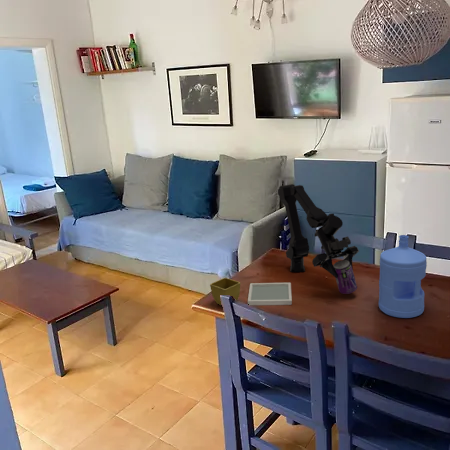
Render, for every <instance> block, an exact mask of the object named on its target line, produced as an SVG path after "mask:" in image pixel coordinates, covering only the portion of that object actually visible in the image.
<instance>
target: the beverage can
mask: <svg viewBox="0 0 450 450" xmlns="http://www.w3.org/2000/svg"><path fill="white" fill-rule="evenodd" d="M333 266H334V268H335V270H336V272H337V275H338V278H335V281H336V285H337V288H338V289H337V290H338V292H339V293H341V294H344V295H349V294H352V293H354V292H355V291H357V289H358V284H357V281H356V277H355V273H354V268H353V269H352V266H353V265H352V266H351V265H350V263H349V261H347V260H344V259H343V260H338V261H336V262H335V263H333Z"/></svg>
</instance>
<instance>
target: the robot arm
mask: <svg viewBox="0 0 450 450" xmlns="http://www.w3.org/2000/svg"><path fill="white" fill-rule="evenodd" d="M277 195H278V197H279V200H280V203H282V204H283V205H284V207H285V212H286V217H287V222H288V223H287V224H288V227H289V233H290V240H289V243H288V247H289V248H288V249H287V250H286V252H285V254H286V255H285V256H286V258H287V259H289V260H290V266H289V267H290V268H289V269H290V273H300V272H301V273H305V272H306V268H305V265H304V264H305V263H304V262H305V261H304V258H306V257H308V256H309V252H310V245H309V240H308V238H307V237H304V235H303V233H302V227H301V223H300V218H299V212H298V209H297V202H298V204H299V205H300V207H301V208H302V210H303V211H304V213H305V215H306V217H305V218H306V222H307V223H308V225H309V227H310V228H312V229H315V232H314V237H318V239H319V241H320V244H321V246H320V248H321V250H324V252H323V253H319V254H316V256H314V257H313V259H312V260H311V261H312V265H313V267H314V268H316V267H319V268H322V269H324V270H325V271H327V272H328V273H329V274H331V276H333V277H334V278H335V279H336V278H338V275H337V272H336V270H335V268H334V266H333V265H334V263H333V260H335V259H339V258H343V260H347V261H349V263H350V265H351V266H352V269H353V270H354V268H353V258H354V257H355V256H356V255H357V254H358V253H359V252H360V249H359V248H358V247H357V246H356V245H353V246H349V245H351V243H352V242H351V239H350V237H349V236H345V237H342V238H341V240H339V239H338V238H335V236H334V235H335V234H336V233H337V232H339V230H340V229H342V227H343V220H342V219H341V218H340V217H339V216H337V215H335V214H334V213H329V214H327V213H326V212H325V211H324V210H323V209H322V208H320V207H318V206H316V204H315V203H314V202H313V200H312V199H311V198H310V196H309V194H308V193H307V191H306V190H305V188H304V185H302V184H299V185H297V184H294V183H290V184H284V185H280V186H279V188H278V189H277ZM316 228H318V229H316ZM345 248H346V249H345ZM343 250H344V251H343Z"/></svg>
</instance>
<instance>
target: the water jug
mask: <svg viewBox="0 0 450 450" xmlns="http://www.w3.org/2000/svg"><path fill="white" fill-rule="evenodd" d="M398 238H399V239H398V246H397V247H396V246H395V247H393V248H388V249H386V250H384V251H382V252H381V253H380V256H379V279H378V280H379V282H378V286H379V287H378V288H379V289H378V291H379V294H378V297H379V298H378V307H379V309H380V311H381V312H383V313H384V314H385V315H388V316H390V317H394V318H399V319H411V318H416V317H418V316H421V315H422V314H423V312H425V311H424V310H425V291H424V290H423V288H422V286H421V285H422V280H423V279H424V278H425V277H426V275H427V274H426V273H427V266H428V265H427V263H428V262H427V256H426V254H424V253H423V252H421V251H419V250H417V249H414V248H412V247H409V238H410V237H409V235H406V234H401V235H399V236H398Z"/></svg>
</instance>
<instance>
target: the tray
mask: <svg viewBox="0 0 450 450" xmlns="http://www.w3.org/2000/svg"><path fill="white" fill-rule="evenodd" d="M247 297H248V298H247V305H248V304H249V305H248V306H291V305H293V304H292V303H293V300H292V283H291V282H260V283H259V282H255V283H253V282H251V283H250V284H249V291H248V295H247Z"/></svg>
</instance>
